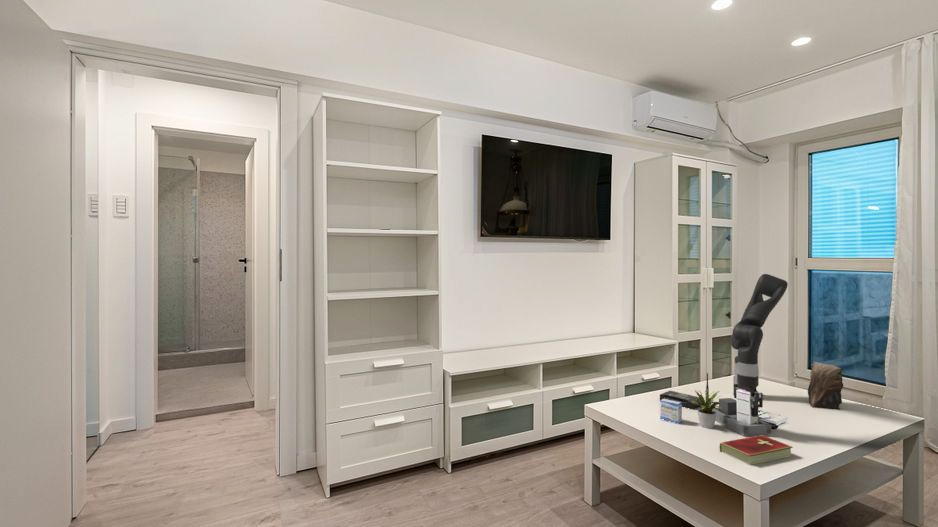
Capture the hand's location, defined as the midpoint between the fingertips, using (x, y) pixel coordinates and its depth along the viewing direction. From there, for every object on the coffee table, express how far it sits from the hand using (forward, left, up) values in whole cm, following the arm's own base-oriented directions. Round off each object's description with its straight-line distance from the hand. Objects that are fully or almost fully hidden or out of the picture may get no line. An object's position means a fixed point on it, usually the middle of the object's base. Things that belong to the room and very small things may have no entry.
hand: (747, 413), depth 184 cm
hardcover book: (+21, -13, -8) cm, 26 cm away
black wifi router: (-34, -6, -8) cm, 36 cm away
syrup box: (0, 0, -5) cm, 5 cm away
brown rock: (-24, +57, -7) cm, 62 cm away
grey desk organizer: (-8, 0, -7) cm, 11 cm away
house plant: (-6, -15, -7) cm, 18 cm away
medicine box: (-14, -25, -7) cm, 30 cm away
